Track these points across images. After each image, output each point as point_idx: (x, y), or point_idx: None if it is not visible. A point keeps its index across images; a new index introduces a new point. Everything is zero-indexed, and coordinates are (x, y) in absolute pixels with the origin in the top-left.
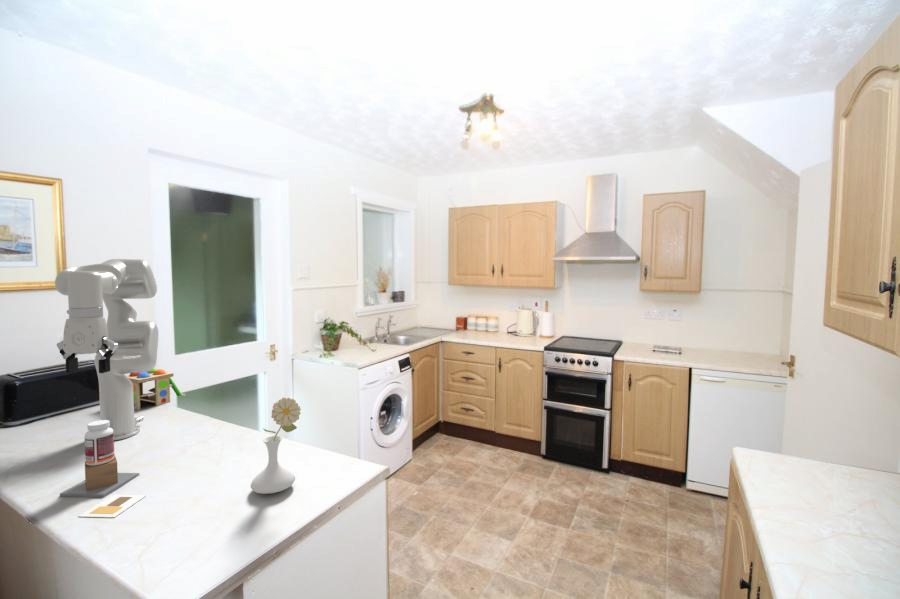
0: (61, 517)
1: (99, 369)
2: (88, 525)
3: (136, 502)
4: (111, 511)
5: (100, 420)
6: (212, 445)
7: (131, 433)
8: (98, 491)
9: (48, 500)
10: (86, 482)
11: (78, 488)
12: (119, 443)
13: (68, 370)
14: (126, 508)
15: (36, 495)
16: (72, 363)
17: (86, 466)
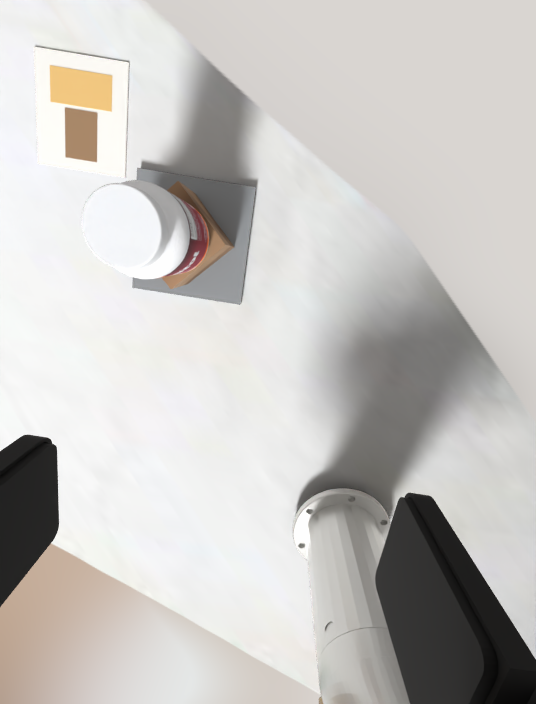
0: (170, 66)
1: (14, 458)
2: (72, 12)
3: (37, 128)
4: (62, 78)
5: (137, 261)
6: (67, 449)
7: (297, 518)
8: (163, 187)
9: (269, 169)
10: (192, 193)
11: (227, 211)
12: (316, 490)
13: (415, 511)
14: (37, 93)
15: (319, 202)
16: (428, 626)
17: (191, 201)
